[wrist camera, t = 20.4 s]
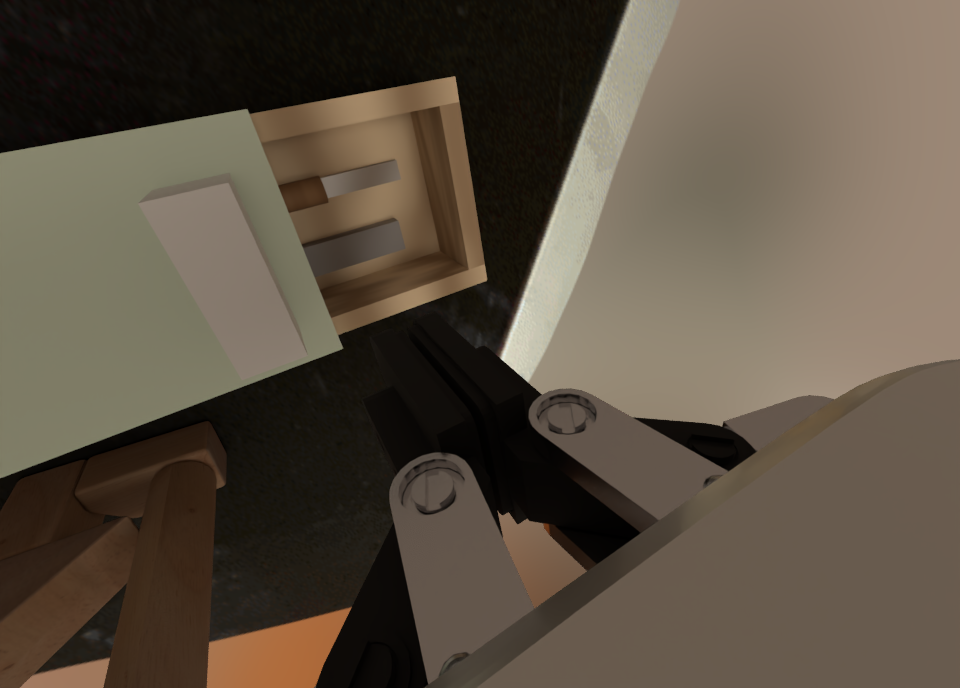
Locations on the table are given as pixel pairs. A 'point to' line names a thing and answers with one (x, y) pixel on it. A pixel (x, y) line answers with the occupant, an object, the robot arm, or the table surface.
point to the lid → (144, 282)
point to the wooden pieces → (115, 559)
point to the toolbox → (378, 197)
